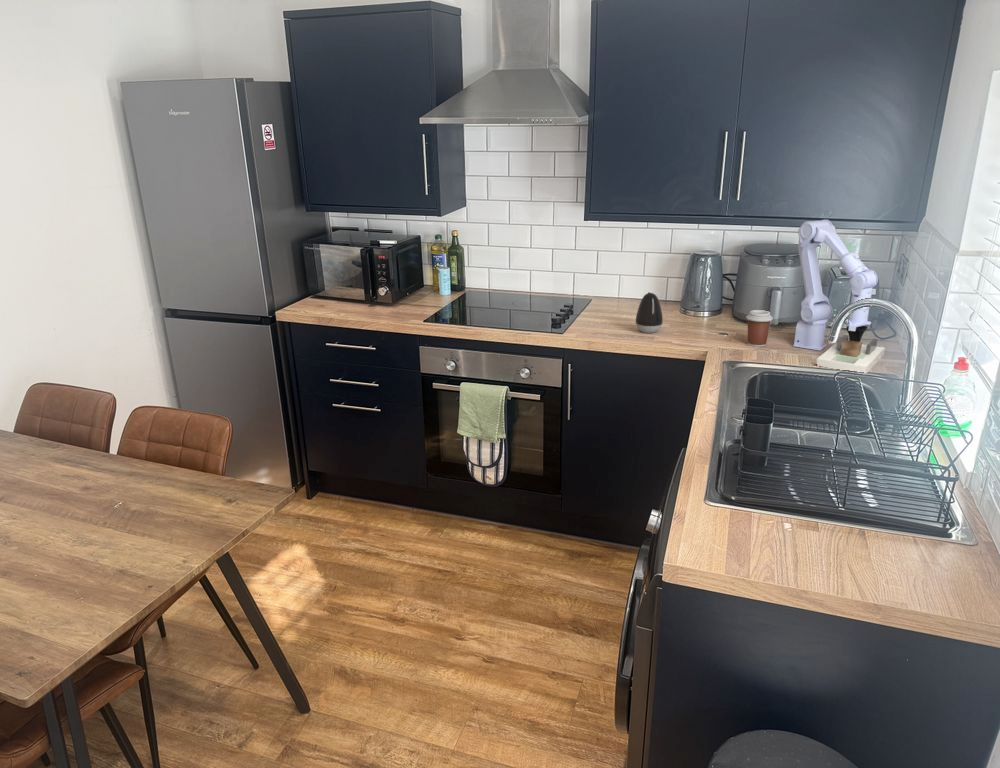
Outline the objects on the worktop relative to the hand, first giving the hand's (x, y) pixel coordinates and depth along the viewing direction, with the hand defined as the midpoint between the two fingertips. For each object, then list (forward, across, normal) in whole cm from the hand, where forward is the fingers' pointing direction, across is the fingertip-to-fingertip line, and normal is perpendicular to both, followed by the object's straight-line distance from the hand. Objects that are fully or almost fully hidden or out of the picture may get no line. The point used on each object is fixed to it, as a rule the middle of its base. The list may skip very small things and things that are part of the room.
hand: (853, 347), depth 247 cm
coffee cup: (+4, -1, +32) cm, 32 cm away
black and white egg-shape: (+4, -7, +72) cm, 72 cm away
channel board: (+4, -2, 0) cm, 5 cm away
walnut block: (+2, -4, 0) cm, 4 cm away
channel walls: (+1, +4, 0) cm, 4 cm away
